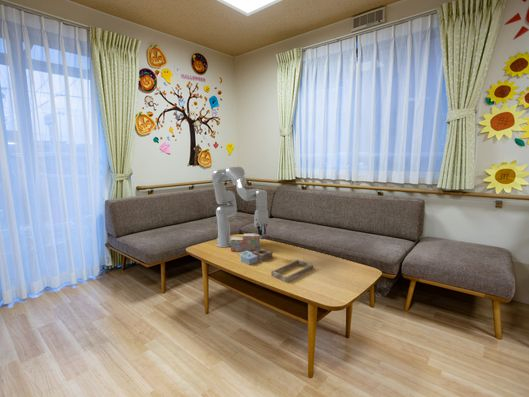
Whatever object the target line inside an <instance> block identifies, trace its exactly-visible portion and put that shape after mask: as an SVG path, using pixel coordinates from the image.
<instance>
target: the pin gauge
mask: <svg viewBox="0 0 529 397" xmlns="http://www.w3.org/2000/svg"><path fill="white" fill-rule="evenodd" d="M261 230H262V235H260V240H265V234H264V225H261Z"/></svg>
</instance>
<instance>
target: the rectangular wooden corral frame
mask: <svg viewBox="0 0 529 397" xmlns="http://www.w3.org/2000/svg"><path fill="white" fill-rule="evenodd" d="M296 266H301V267H303V268H302V269H300V270H298V271H295V272H293V273H292V274H290V275H288V276H286V275H283V274H282V273H283V272H286V271H288V270H290V269H292V268H294V267H296ZM312 269H313V270H314V264H311V263H310V262H309V263H308V262H306V261H303V260H299V259H296V260H294V261H292V262H290V263H287V264H285V265H282V266H281V267H279V268H275V269H274V270H271V275H270V276H271V277H273V278H276V279H277V280H280V281H281V282H284V283H289V282H291V281H294V280H295V279H297V278H299V277H302V276H303V275H305V274H307V273H309V272H310V270H311V271H312ZM308 271H309V272H308ZM306 272H307V273H306Z"/></svg>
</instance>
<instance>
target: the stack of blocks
mask: <svg viewBox="0 0 529 397" xmlns="http://www.w3.org/2000/svg"><path fill="white" fill-rule="evenodd" d="M230 242H231V246H230V252H244V251H249V252H254V251H257V250H260V249H261V247H260V246H261V239H260V235H258V233H255V232H254V233H253V232H251V233H243V234H242V237H239V236H236V237H235V236H234V237H233V236H232V237H230Z"/></svg>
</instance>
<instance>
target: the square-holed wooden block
mask: <svg viewBox="0 0 529 397" xmlns="http://www.w3.org/2000/svg"><path fill="white" fill-rule="evenodd" d="M252 254H254V255H257V256H258V261H261V262H264V261H266V260H267V261H268V260H269V259H272V258H273V251H270V250H268V249H264V248H260V250H257V251H254V252H252Z"/></svg>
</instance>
